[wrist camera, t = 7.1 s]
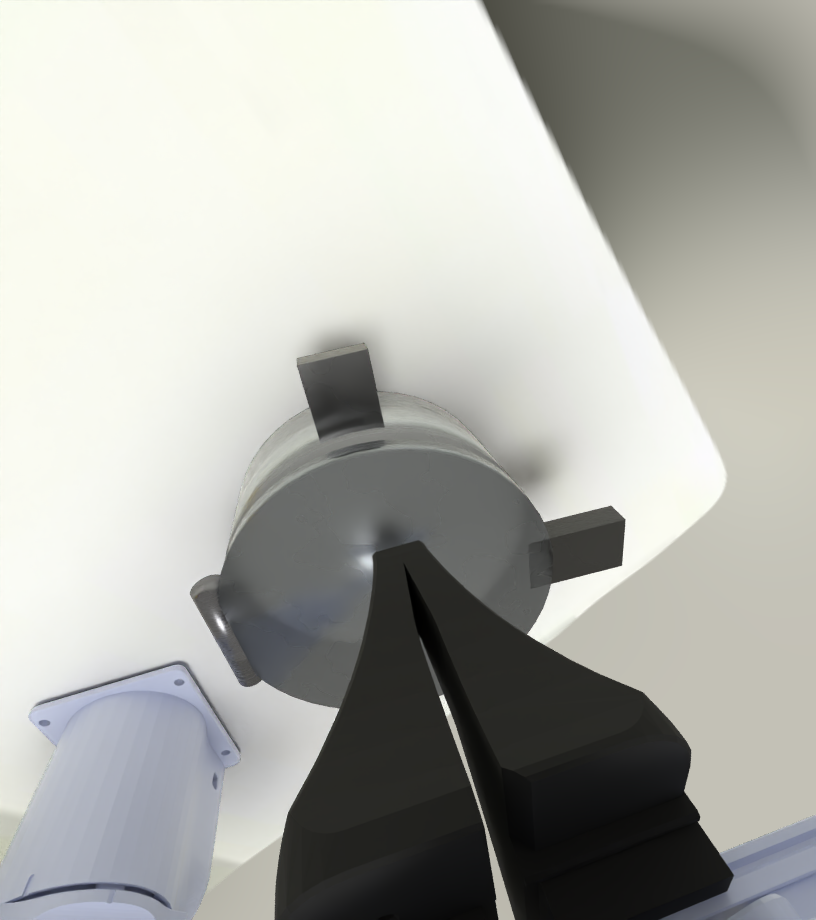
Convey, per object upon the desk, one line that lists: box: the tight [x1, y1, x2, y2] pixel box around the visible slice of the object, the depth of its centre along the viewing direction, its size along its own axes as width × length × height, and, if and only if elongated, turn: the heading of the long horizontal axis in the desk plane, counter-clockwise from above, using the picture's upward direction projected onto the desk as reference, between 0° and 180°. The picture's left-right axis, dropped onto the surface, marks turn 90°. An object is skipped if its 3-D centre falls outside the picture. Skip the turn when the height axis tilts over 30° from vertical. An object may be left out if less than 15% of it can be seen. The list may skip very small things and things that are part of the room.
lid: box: [190, 439, 625, 708], centre depth 18 cm, size 13×17×1 cm
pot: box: [226, 343, 511, 555], centre depth 21 cm, size 19×13×5 cm
